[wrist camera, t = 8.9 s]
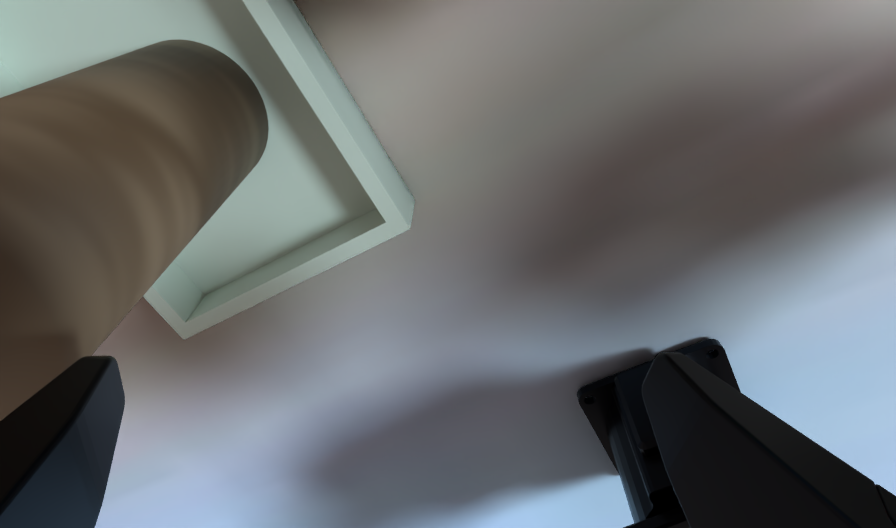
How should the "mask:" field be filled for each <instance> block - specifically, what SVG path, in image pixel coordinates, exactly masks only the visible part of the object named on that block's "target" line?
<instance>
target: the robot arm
mask: <svg viewBox="0 0 896 528" xmlns="http://www.w3.org/2000/svg"><path fill="white" fill-rule="evenodd" d="M712 349H714V351H712V352H711V353H707V352H708V351H710V350H712ZM587 396H592V397H591V398H585V397H587ZM577 397H578V400H579V404H580V406H581V408H582V409H583V411H584V413H585V415H586V416H587V418H588V420H589V422H590V424H591V425H592V427H593V429H594V431H595V432H596V434H597V436H598V438H599V439H600V441H601V443H602V445H603V447H604V448H605V450H606V452H607V454H608V455H609V457H610V459H611V461H612V462H613V464H614V466H615V468H616V470H617V471H618V473H619V475H620V478H621V481H622V484H623V487H624V491H625V494H626V497H627V500H628V504H629V507H630V510H631V514H632V517H633V520H634V524H631V525H629V526H626V527H624V528H896V496H895V495H893V494H892V493H890V492H889V491H887V490H886V489H884V488H883V487H881V486H880V485H875V484H874V482H873V481H872V480H871V479H869V478H868V477H866V476H865V475H863V474H862V473H860V472H859V471H857V470H856V469H854V468H853V467H851V466H850V465H848V464H847V463H845V462H844V461H842V460H841V459H839V458H838V457H836V456H835V455H833V454H832V453H830V452H829V451H827V450H826V449H824V448H823V447H821V446H820V445H818V444H817V443H815V442H814V441H812V440H811V439H809V438H808V437H806V436H805V435H803V434H802V433H800V432H799V431H797V430H796V429H794V428H793V427H791V426H790V425H788V424H787V423H785V422H784V421H782V420H781V419H779V418H778V417H776V416H775V415H773V414H772V413H770V412H769V411H767V410H766V409H764V408H763V407H761V406H760V405H759V404H757V403H756V402H754V401H753V400H751V399H750V398H748V397H747V396H745V395H744V394H742V393H741V392H740V389H739V387H738V384H737V381H736V379H735V376H734V374H733V371H732V368H731V366H730V363H729V360H728V358H727V355H726V353H725V350H724V348H723V347H722V345H721V344H720V342H719V341H717V340H715V339H707V340H704V341H701V342H699V343H696V344H694V345H691V346H688V347H686V348H683V349H680V350H678V351H675V352H672V353H659V354H658V355H657V356H656V357H655V359H654V360H652V361H649V362H646V363H644V364H641V365H638V366H636V367H633V368H631V369H628V370H625V371H623V372H620V373H617V374H615V375H612V376H610V377H607V378H604V379H602V380H599V381H597V382H594V383H591V384H589V385H586V386H584V387H582V388H580V389H579V391H578V393H577ZM124 405H125V395H124V390H123V386H122V381H121V377H120V372H119V368H118V364H117V361H116V359H115V358H114V357H112V356H85V357H82V358H80V359H78V360H77V361H76V362H74V363H73V364H72V365H71V366H69V367H68V368H67V369H66V370H64V371H63V372H62V373H61V374H59V375H58V376H57V377H55V378H54V379H53V380H52V381H50V382H49V383H48V384H47V385H45V386H44V387H43V388H42V389H40V390H39V391H38V392H36V393H35V394H34V395H33V396H31V397H30V398H29V399H28V400H26V401H25V402H24V403H23V404H21V405H20V406H19V407H17V408H16V409H15V410H14V411H12V412H11V413H10V414H9V415H7V416H6V417H5V418H4V419H2V420H1V421H0V528H94V527H95V525H96V522H97V519H98V515H99V512H100V509H101V506H102V502H103V498H104V494H105V490H106V486H107V482H108V477H109V473H110V469H111V464H112V460H113V455H114V451H115V447H116V442H117V438H118V433H119V429H120V425H121V420H122V416H123V411H124Z"/></svg>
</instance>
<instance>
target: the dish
mask: <svg viewBox="0 0 896 528" xmlns="http://www.w3.org/2000/svg"><path fill="white" fill-rule="evenodd" d="M178 39H181V40H190V41H195V42H199V43H202V44H205V45H208V46H210V47H213V48H215V49H216V50H218V51H220V52H222V53H224V54H225V55H227V56H228V57H230V58H231V59H232V60H233V61H234V62H236V63H237V64H238V65H239V66H240V67H241V68H242V69H243V70H244V71H245V72H246V73H247V74H248V76H249V77H250V78H251V80H252V81H253V82H254V84H255V86H256V87H257V89H258V91H259V93H260V95H261V97H262V99H263V102H264V105H265V108H266V111H267V117H268V127H269V131H268V140H267V144H266V148H265V151H264V153H263V155H262V157H261V159H260V161H259V162H258V163H257V165H256V166H255V167H254V168H253V169H252V171H251V172H250V173H249V174H248V175H247V176H246V178H245V179H244V180H243V181H242V182H241V183H240V185H239V186H238V187H237V188H236V189H235V190H234V191H233V193H232V194H231V195H230V196H229V197H228V198H227V200H226V201H225V202H224V203H223V204H222V205H221V206H220V208H219V209H218V210H217V211H216V212H215V213H214V215H213V216H212V217H211V218H210V219H209V220H208V221H207V223H206V224H205V225H204V226H203V227H202V228H201V230H200V231H199V232H198V233H197V234H196V235H195V236H194V238H193V239H192V240H191V241H190V242H189V243H188V245H187V246H186V247H185V248H184V249H183V250H182V251H181V253H180V254H179V255H178V256H177V257H176V258H175V260H174V261H173V262H172V263H171V264H170V265H169V266H168V268H167V269H166V270H165V271H164V272H163V273H162V275H161V276H160V277H159V278H158V279H157V280H156V281H155V283H154V284H153V285H152V286H151V287H150V288H149V290H148V291H147V292H146V293H145V294H144V295H143V297H144V298H145V299H146V300H147V301H148V302H149V304H150V305H151V306H152V307H153V308H154V309H155V310H156V311H157V312H158V313H159V314H160V315H161V316H162V317H163V319H164V320H165V321H166V322H167V323H168V324H169V325H170V326H171V327H172V328H173V329H174V330H175V331H176V332H177V333H178V335H179V336H180V337H181V338H182V339H183V340H185V339H187V338H189V337H191V336H193V335H195V334H197V333H199V332H201V331H203V330H205V329H208V328H210V327H212V326H214V325H216V324H218V323H220V322H222V321H224V320H226V319H228V318H230V317H232V316H234V315H236V314H238V313H240V312H242V311H244V310H246V309H248V308H250V307H252V306H254V305H256V304H258V303H261V302H263V301H265V300H267V299H269V298H271V297H273V296H275V295H277V294H279V293H281V292H283V291H285V290H287V289H289V288H291V287H293V286H295V285H297V284H299V283H301V282H303V281H305V280H307V279H309V278H311V277H313V276H316V275H318V274H320V273H322V272H324V271H326V270H328V269H330V268H332V267H334V266H336V265H338V264H340V263H342V262H344V261H346V260H348V259H350V258H352V257H354V256H356V255H358V254H360V253H362V252H364V251H366V250H368V249H371V248H373V247H375V246H377V245H379V244H381V243H383V242H385V241H387V240H389V239H391V238H393V237H395V236H397V235H399V234H401V233H403V232H405V231H407V230H409V229H410V228H411V222H412V216H413V210H414V204H415V199H414V198H413V196H412V194H411V193H410V191H409V189H408V188H407V186H406V184H405V183H404V181H403V180H402V178H401V176H400V175H399V173H398V171H397V170H396V168H395V166H394V165H393V163H392V162H391V160H390V158H389V157H388V155H387V153H386V152H385V150H384V148H383V147H382V145H381V143H380V142H379V140H378V139H377V137H376V135H375V134H374V132H373V130H372V129H371V127H370V125H369V124H368V122H367V120H366V119H365V117H364V116H363V114H362V112H361V111H360V109H359V107H358V106H357V104H356V102H355V101H354V99H353V97H352V96H351V94H350V93H349V91H348V89H347V88H346V86H345V84H344V83H343V81H342V79H341V78H340V76H339V75H338V73H337V71H336V70H335V68H334V66H333V65H332V63H331V61H330V60H329V58H328V56H327V55H326V53H325V52H324V50H323V48H322V47H321V45H320V43H319V42H318V40H317V38H316V37H315V35H314V33H313V32H312V30H311V29H310V27H309V25H308V24H307V22H306V20H305V19H304V17H303V15H302V14H301V12H300V10H299V9H298V7H297V6H296V4H295V2H294V1H293V0H0V98H2V97H4V96H7V95H10V94H13V93H16V92H19V91H21V90H24V89H27V88H30V87H33V86H36V85H38V84H41V83H44V82H47V81H50V80H53V79H55V78H58V77H61V76H64V75H67V74H70V73H72V72H75V71H78V70H81V69H84V68H87V67H89V66H92V65H95V64H98V63H101V62H104V61H106V60H109V59H112V58H115V57H118V56H120V55H123V54H126V53H129V52H132V51H135V50H137V49H140V48H143V47H146V46H149V45H152V44H155V43H157V42H160V41H166V40H178Z"/></svg>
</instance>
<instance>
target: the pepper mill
mask: <svg viewBox="0 0 896 528" xmlns="http://www.w3.org/2000/svg"><path fill="white" fill-rule="evenodd" d="M268 131H269V127H268V117H267V111H266V108H265V105H264V102H263V99H262V97H261V95H260V93H259V91H258V89H257V87H256V86H255V84H254V82H253V81H252V80H251V78H250V77H249V76H248V74H247V73H246V72H245V71H244V70H243V69H242V68H241V67H240V66H239V65H238V64H237V63H236V62H234V61H233V60H232V59H231V58H230V57H228V56H227V55H225V54H224V53H222V52H220V51H218V50H216V49H215V48H213V47H210V46H208V45H205V44H202V43H199V42H195V41H190V40H181V39H178V40H166V41H160V42H157V43H155V44H152V45H149V46H146V47H143V48H140V49H137V50H135V51H132V52H129V53H126V54H123V55H120V56H118V57H115V58H112V59H109V60H106V61H104V62H101V63H98V64H95V65H92V66H89V67H87V68H84V69H81V70H78V71H75V72H72V73H70V74H67V75H64V76H61V77H58V78H55V79H53V80H50V81H47V82H44V83H41V84H38V85H36V86H33V87H30V88H27V89H24V90H21V91H19V92H16V93H13V94H10V95H7V96H4V97H2V98H0V421H1V420H2V419H4V418H5V417H6V416H7V415H9V414H10V413H11V412H12V411H14V410H15V409H16V408H17V407H19V406H20V405H21V404H23V403H24V402H25V401H26V400H28V399H29V398H30V397H31V396H33V395H34V394H35V393H36V392H38V391H39V390H40V389H42V388H43V387H44V386H45V385H47V384H48V383H49V382H50V381H52V380H53V379H54V378H55V377H57V376H58V375H59V374H61V373H62V372H63V371H64V370H66V369H67V368H68V367H69V366H71V365H72V364H73V363H74V362H76V361H77V360H78V359H80V358H82V357H85V356H91V355H92V354H93V353H94V352H95V351H96V350H97V348H98V347H99V346H100V345H101V344H102V343H103V341H104V340H105V339H106V338H107V337H108V336H109V335H110V333H111V332H112V331H113V330H114V329H115V328H116V326H117V325H118V324H119V323H120V322H121V321H122V320H123V318H124V317H125V316H126V315H127V314H128V313H129V311H130V310H131V309H132V308H133V307H134V306H135V305H136V303H137V302H138V301H139V300H140V299H141V298H142V296H143V295H144V294H145V293H146V292H147V291H148V290H149V288H150V287H151V286H152V285H153V284H154V283H155V281H156V280H157V279H158V278H159V277H160V276H161V275H162V273H163V272H164V271H165V270H166V269H167V268H168V266H169V265H170V264H171V263H172V262H173V261H174V260H175V258H176V257H177V256H178V255H179V254H180V253H181V251H182V250H183V249H184V248H185V247H186V246H187V245H188V243H189V242H190V241H191V240H192V239H193V238H194V236H195V235H196V234H197V233H198V232H199V231H200V230H201V228H202V227H203V226H204V225H205V224H206V223H207V221H208V220H209V219H210V218H211V217H212V216H213V215H214V213H215V212H216V211H217V210H218V209H219V208H220V206H221V205H222V204H223V203H224V202H225V201H226V200H227V198H228V197H229V196H230V195H231V194H232V193H233V191H234V190H235V189H236V188H237V187H238V186H239V185H240V183H241V182H242V181H243V180H244V179H245V178H246V176H247V175H248V174H249V173H250V172H251V171H252V169H253V168H254V167H255V166H256V165H257V163H258V162H259V161H260V159H261V157H262V155H263V153H264V151H265V148H266V144H267V140H268Z"/></svg>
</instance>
